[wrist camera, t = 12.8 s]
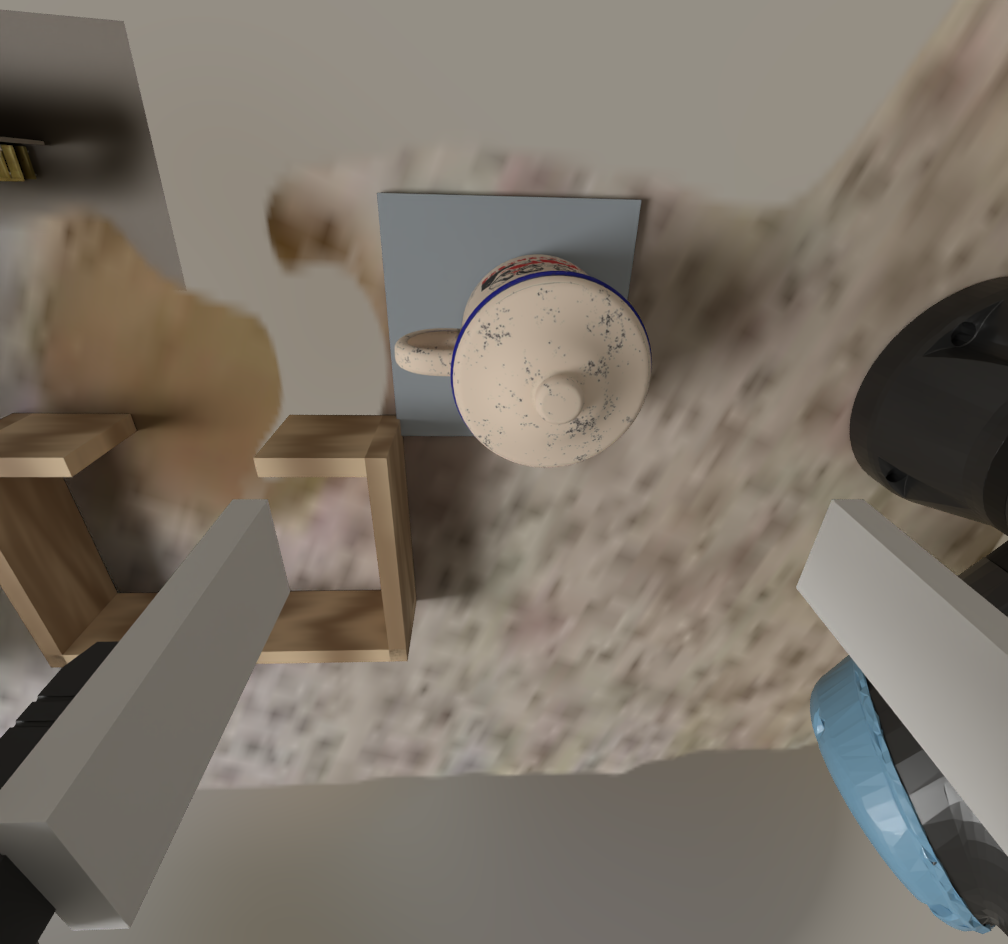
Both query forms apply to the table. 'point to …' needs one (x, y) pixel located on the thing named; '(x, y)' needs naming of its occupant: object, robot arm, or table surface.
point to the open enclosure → (109, 615)
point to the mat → (481, 269)
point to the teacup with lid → (540, 362)
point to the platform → (79, 131)
